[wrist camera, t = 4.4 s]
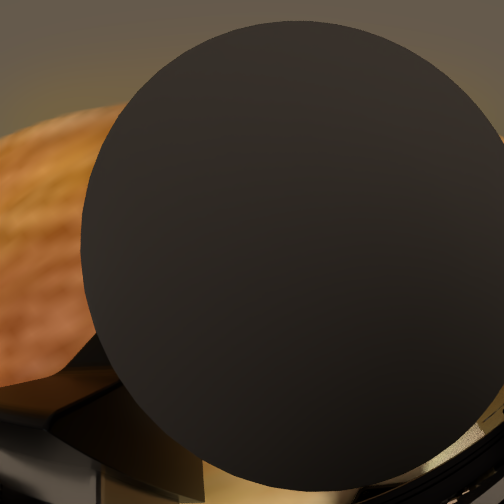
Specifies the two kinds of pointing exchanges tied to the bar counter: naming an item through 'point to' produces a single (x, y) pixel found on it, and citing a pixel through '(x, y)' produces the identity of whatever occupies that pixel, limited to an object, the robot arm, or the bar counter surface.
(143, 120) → the dark grey cylinder
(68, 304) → the bar counter surface
